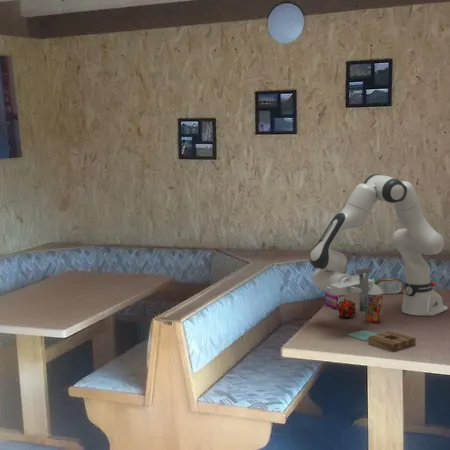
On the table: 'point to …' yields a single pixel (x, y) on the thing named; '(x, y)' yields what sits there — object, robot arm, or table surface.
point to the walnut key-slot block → (392, 341)
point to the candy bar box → (333, 299)
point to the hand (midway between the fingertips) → (365, 289)
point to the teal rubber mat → (362, 335)
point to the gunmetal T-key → (364, 287)
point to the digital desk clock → (390, 285)
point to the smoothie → (374, 304)
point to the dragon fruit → (346, 308)
